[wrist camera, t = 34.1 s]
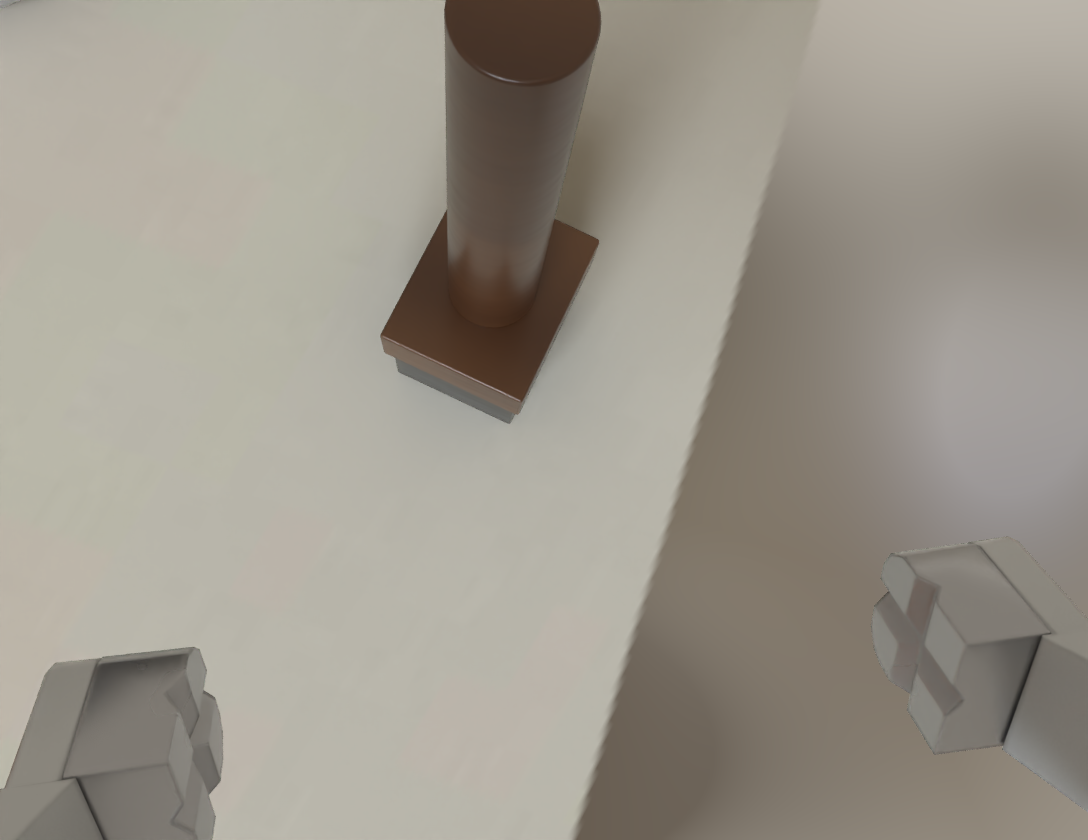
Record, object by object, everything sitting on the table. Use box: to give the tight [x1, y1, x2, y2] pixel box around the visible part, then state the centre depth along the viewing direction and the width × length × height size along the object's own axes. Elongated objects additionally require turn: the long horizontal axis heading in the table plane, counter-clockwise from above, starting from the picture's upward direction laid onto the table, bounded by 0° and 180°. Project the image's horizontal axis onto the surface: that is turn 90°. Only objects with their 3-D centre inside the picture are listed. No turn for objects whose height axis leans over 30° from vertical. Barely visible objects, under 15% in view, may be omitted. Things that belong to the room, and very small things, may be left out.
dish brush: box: [381, 0, 601, 424], centre depth 22 cm, size 5×4×16 cm
